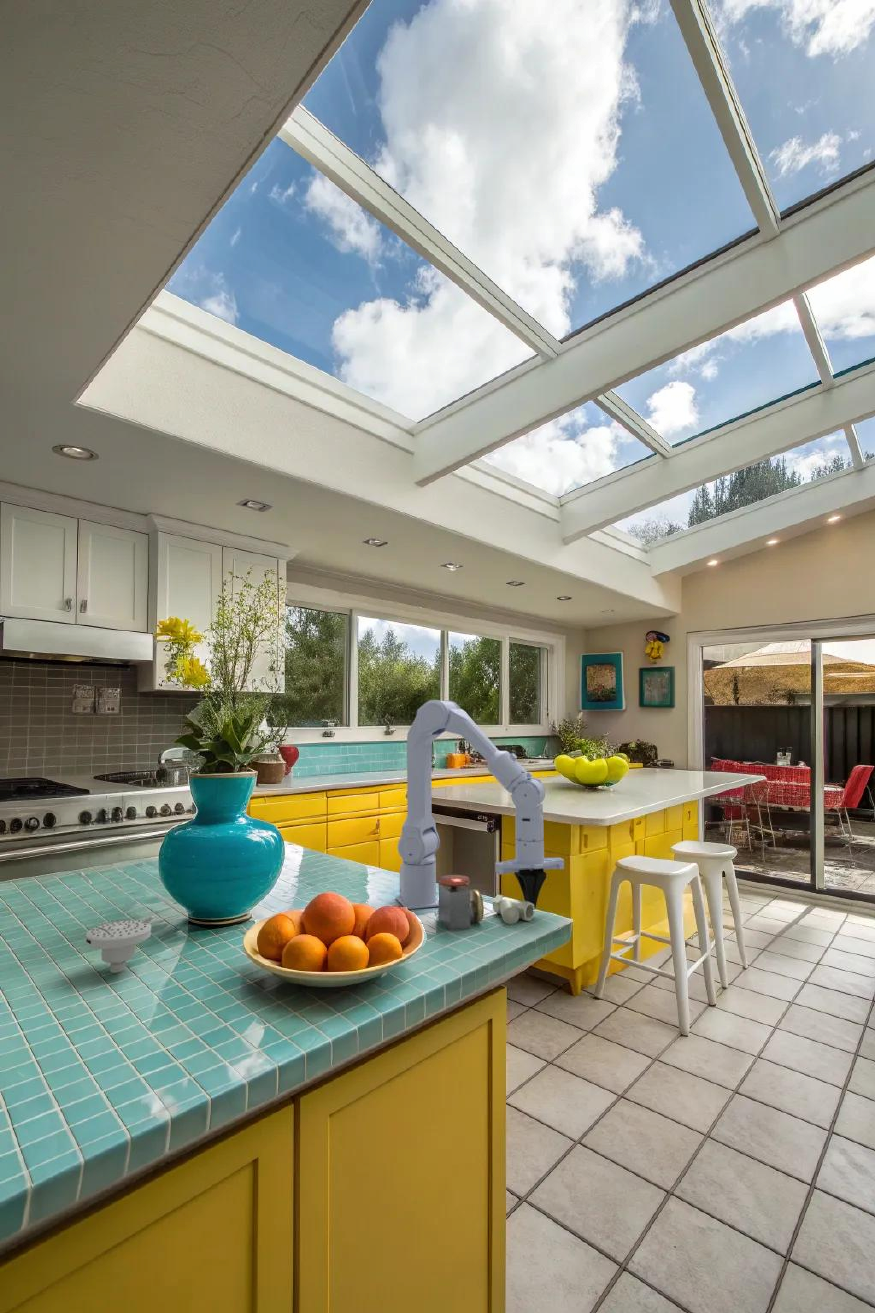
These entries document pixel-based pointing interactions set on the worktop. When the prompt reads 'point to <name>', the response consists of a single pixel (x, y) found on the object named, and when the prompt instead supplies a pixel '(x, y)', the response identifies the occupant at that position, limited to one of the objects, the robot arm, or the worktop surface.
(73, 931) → the worktop surface
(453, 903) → the grey block with discs
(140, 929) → the showerhead
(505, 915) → the pipe fitting
